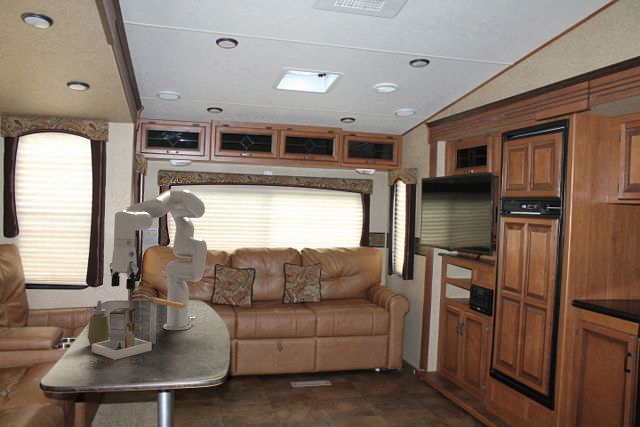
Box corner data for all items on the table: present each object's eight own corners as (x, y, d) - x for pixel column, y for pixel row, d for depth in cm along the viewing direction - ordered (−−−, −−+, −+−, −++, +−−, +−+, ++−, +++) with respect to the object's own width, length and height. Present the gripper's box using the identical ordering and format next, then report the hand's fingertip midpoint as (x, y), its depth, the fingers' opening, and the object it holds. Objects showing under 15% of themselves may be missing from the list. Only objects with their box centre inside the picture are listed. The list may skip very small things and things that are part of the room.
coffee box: (118, 347, 196) (119, 307, 196) (134, 348, 196) (135, 307, 196) (108, 354, 187) (109, 312, 186) (125, 354, 186) (126, 312, 186)
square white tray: (143, 339, 208) (144, 300, 208) (167, 346, 199) (168, 304, 199) (91, 351, 189) (92, 308, 189) (115, 359, 180) (116, 314, 180)
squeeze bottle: (85, 348, 193) (86, 302, 193) (89, 343, 201) (90, 299, 201) (107, 347, 195) (108, 302, 195) (110, 342, 203) (111, 298, 203)
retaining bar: (147, 301, 202) (147, 298, 202) (154, 300, 205) (154, 297, 205) (180, 308, 190) (180, 304, 190) (186, 307, 193) (187, 303, 193)
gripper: (146, 244, 189) (144, 289, 189) (119, 242, 199) (118, 284, 199) (128, 245, 183) (127, 291, 183) (102, 242, 193) (101, 286, 192)
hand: (122, 287), depth 191 cm, fingers open, 9 cm apart
